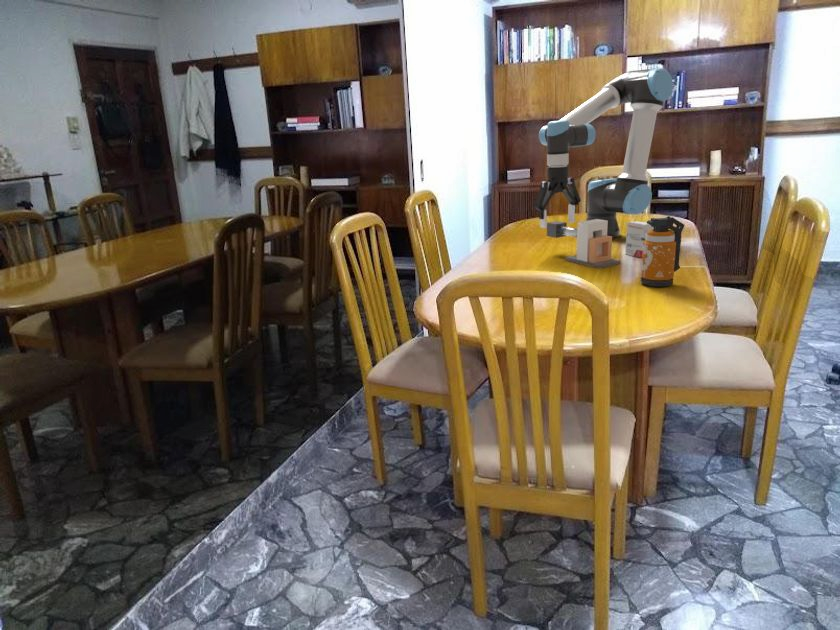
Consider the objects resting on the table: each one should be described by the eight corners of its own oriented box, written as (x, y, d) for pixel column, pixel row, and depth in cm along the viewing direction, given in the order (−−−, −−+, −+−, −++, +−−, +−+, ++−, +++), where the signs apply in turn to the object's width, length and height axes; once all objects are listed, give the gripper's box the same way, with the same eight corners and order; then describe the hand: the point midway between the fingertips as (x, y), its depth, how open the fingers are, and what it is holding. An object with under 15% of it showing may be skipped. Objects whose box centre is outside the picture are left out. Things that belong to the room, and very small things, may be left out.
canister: (635, 281, 187) (639, 215, 181) (670, 279, 188) (676, 213, 182) (648, 289, 178) (653, 220, 172) (685, 286, 179) (691, 217, 173)
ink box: (652, 256, 217) (655, 223, 214) (642, 258, 215) (644, 224, 212) (635, 252, 225) (636, 220, 221) (624, 254, 223) (626, 221, 219)
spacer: (588, 261, 210) (589, 238, 207) (605, 258, 214) (606, 235, 211) (593, 263, 208) (594, 239, 205) (610, 259, 211) (612, 236, 209)
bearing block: (565, 260, 218) (566, 220, 214) (586, 255, 223) (587, 217, 219) (598, 268, 205) (600, 226, 201) (620, 263, 210) (622, 222, 205)
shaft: (546, 236, 228) (546, 222, 227) (557, 234, 230) (557, 221, 229) (586, 244, 211) (587, 229, 210) (597, 242, 213) (598, 227, 212)
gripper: (576, 162, 228) (575, 219, 235) (523, 169, 217) (524, 228, 224) (591, 162, 222) (590, 221, 229) (537, 170, 211) (537, 231, 218)
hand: (557, 225), depth 226 cm, fingers open, 13 cm apart
